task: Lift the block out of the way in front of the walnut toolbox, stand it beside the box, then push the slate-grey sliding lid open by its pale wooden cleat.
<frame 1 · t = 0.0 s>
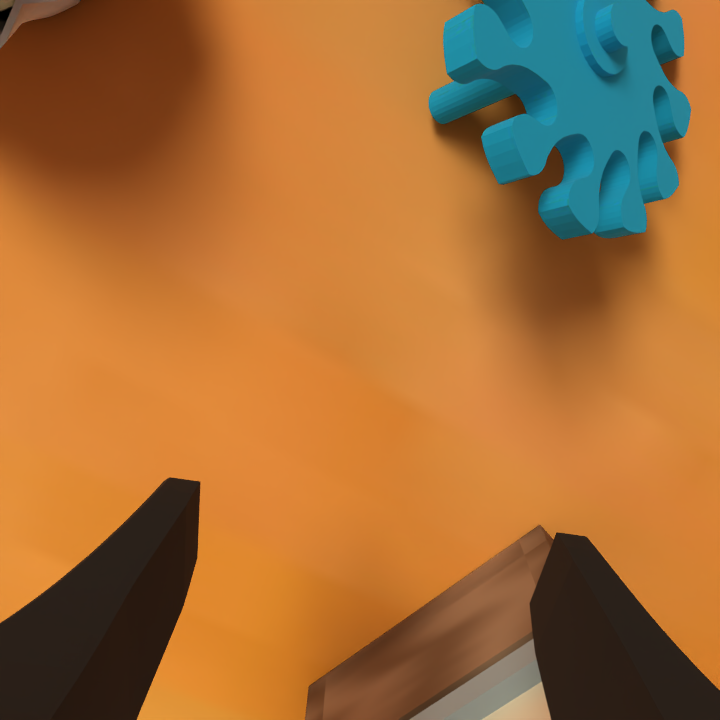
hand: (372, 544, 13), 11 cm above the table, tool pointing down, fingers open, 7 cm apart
gear: (537, 42, 20), on the table
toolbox: (530, 719, 28), on the table
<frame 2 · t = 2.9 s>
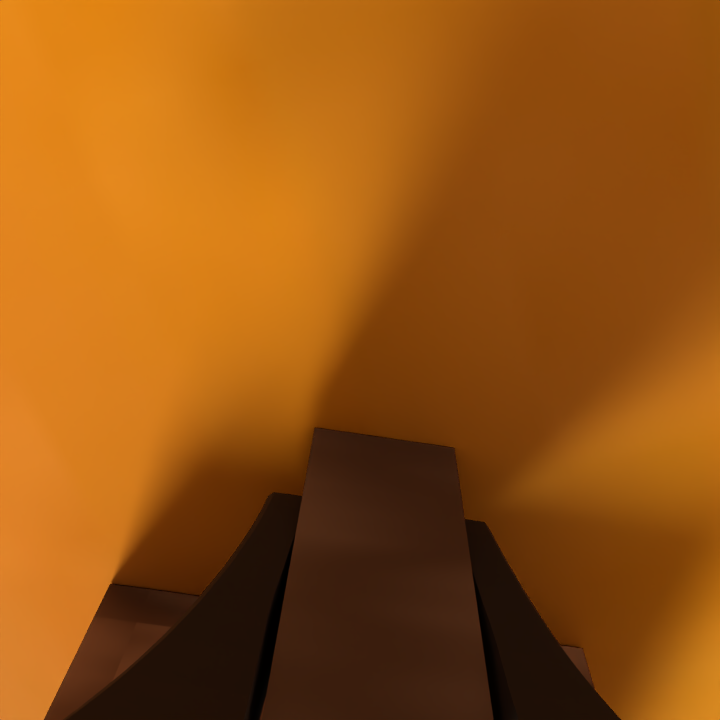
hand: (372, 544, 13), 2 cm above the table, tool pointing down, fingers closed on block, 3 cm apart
block: (373, 492, 15), on the table, touching gripper
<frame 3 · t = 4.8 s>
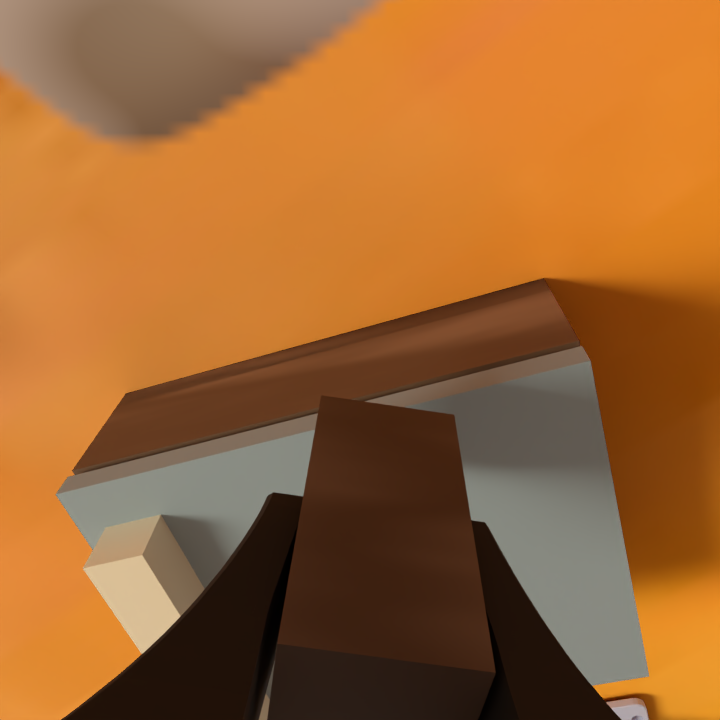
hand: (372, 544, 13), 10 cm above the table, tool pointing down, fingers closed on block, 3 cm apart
block: (377, 458, 15), point 7 cm above the table, touching gripper
lid: (370, 601, 20), point 6 cm above the table, slide at 0.0 cm
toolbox: (375, 476, 25), on the table
when the fingers open (3 cm above the table, at t = 6.8 s): block stays where it is, on the table.
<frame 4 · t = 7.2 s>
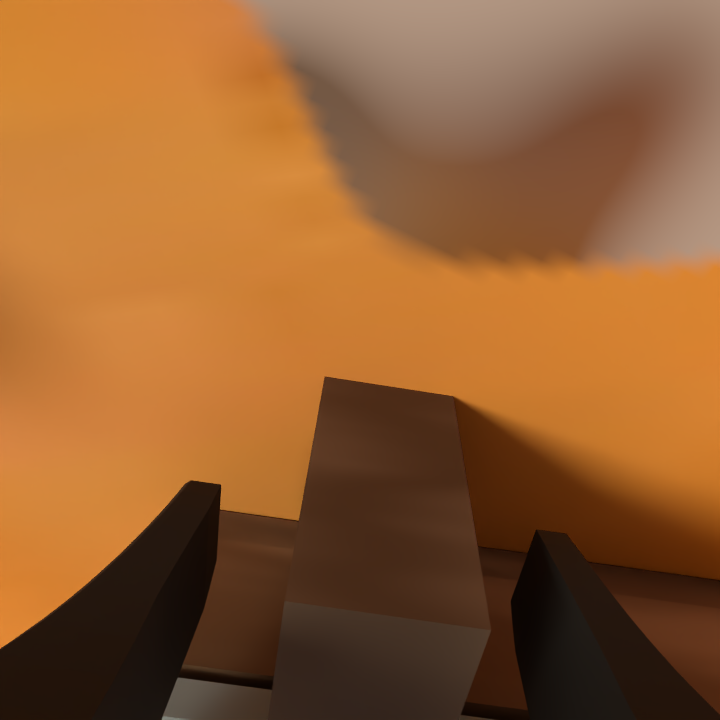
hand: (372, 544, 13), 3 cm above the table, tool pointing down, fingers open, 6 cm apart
block: (378, 439, 16), on the table
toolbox: (428, 691, 20), on the table
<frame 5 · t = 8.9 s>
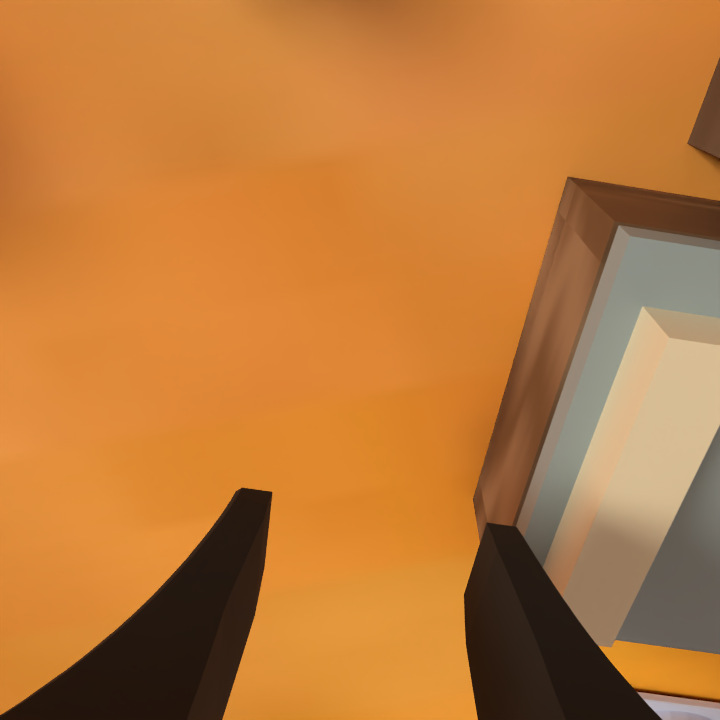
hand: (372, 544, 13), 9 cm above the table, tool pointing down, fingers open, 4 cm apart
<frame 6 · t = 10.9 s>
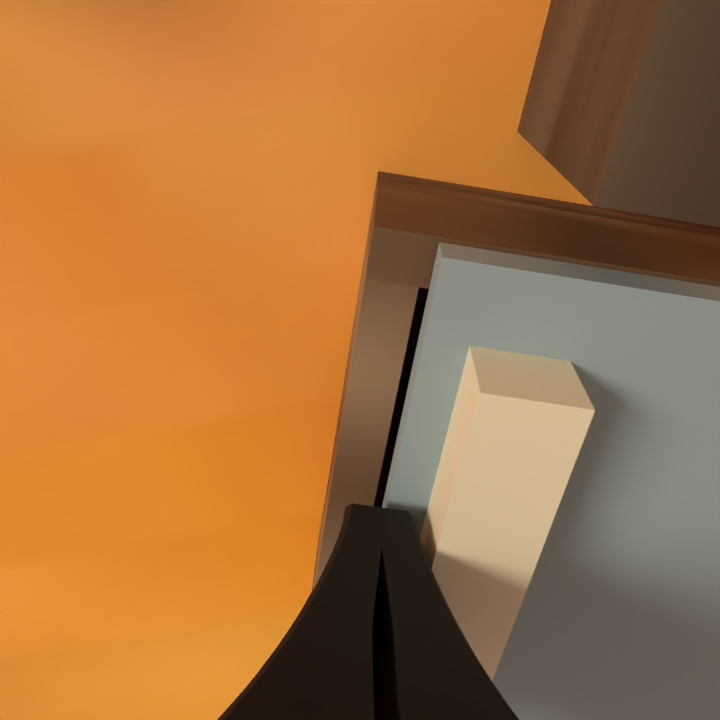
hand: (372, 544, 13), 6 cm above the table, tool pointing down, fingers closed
block: (602, 72, 15), on the table
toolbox: (604, 425, 19), on the table
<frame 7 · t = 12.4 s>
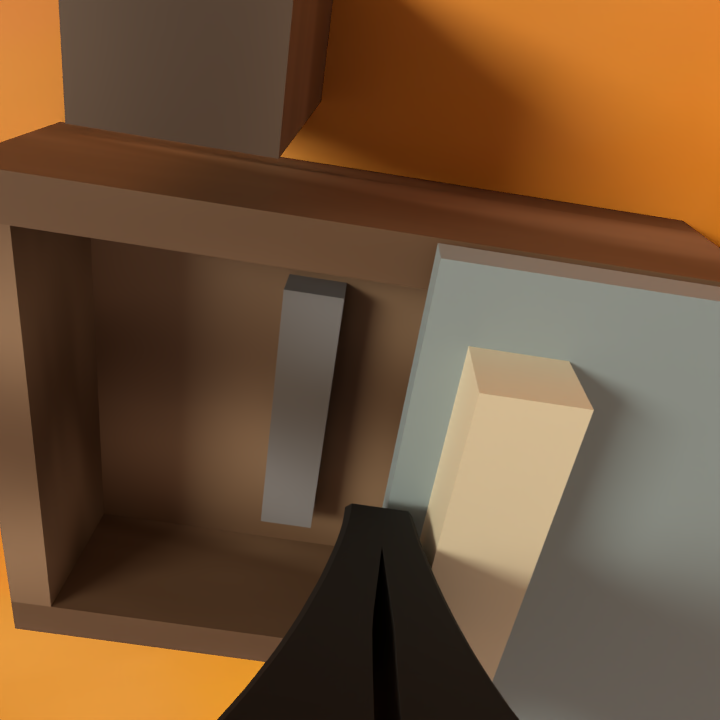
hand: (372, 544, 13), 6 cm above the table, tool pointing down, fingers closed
block: (261, 16, 14), on the table
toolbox: (342, 386, 19), on the table
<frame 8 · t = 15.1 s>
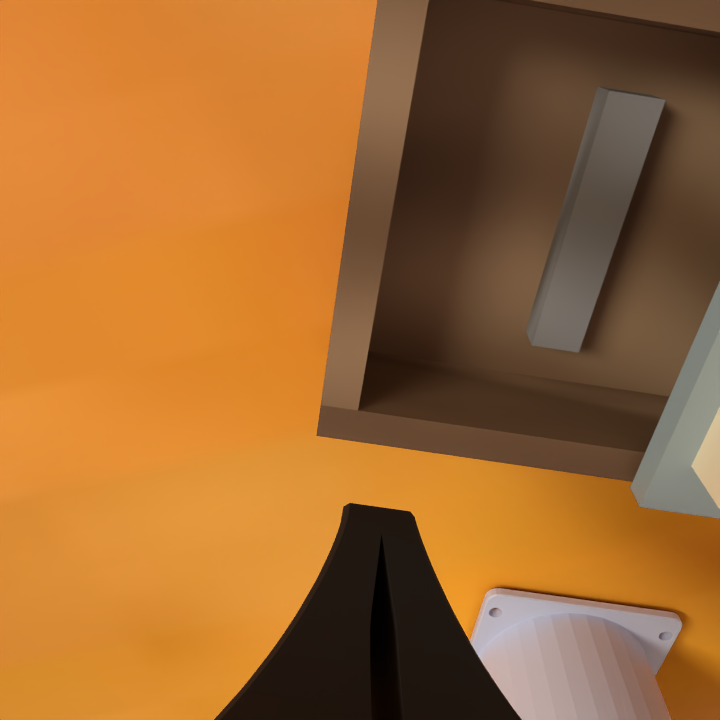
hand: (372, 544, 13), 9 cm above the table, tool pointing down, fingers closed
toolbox: (607, 218, 19), on the table
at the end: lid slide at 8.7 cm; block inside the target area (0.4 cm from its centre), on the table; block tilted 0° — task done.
